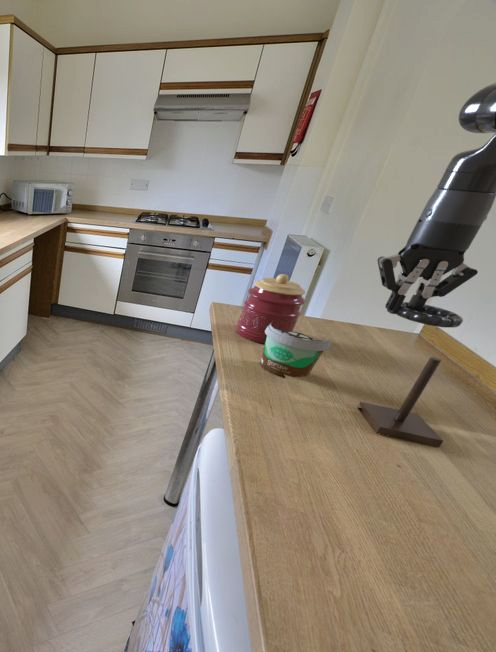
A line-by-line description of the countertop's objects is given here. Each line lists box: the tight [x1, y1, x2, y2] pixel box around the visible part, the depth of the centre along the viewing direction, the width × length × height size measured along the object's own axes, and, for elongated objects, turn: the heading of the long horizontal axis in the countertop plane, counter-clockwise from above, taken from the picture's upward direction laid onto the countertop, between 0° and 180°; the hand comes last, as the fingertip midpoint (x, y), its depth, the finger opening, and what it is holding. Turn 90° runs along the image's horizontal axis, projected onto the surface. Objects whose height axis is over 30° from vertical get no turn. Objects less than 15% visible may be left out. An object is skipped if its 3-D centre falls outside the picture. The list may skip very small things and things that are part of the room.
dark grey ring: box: [396, 301, 464, 329], centre depth 75 cm, size 9×9×2 cm
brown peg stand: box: [356, 356, 444, 448], centre depth 74 cm, size 9×9×14 cm
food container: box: [260, 324, 332, 379], centre depth 92 cm, size 12×6×10 cm, turn 44°
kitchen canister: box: [235, 273, 307, 345], centre depth 110 cm, size 13×13×18 cm
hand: (399, 313), depth 76 cm, fingers closed on dark grey ring, 2 cm apart
